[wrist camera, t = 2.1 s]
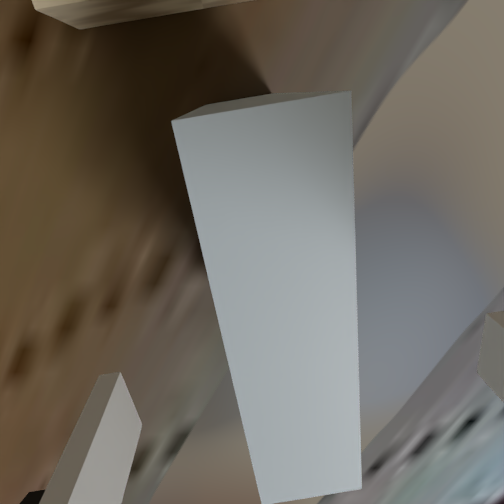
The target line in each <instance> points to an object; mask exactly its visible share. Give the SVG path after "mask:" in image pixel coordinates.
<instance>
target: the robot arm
mask: <svg viewBox="0 0 504 504" xmlns="http://www.w3.org/2000/svg"><path fill="white" fill-rule="evenodd" d="M477 373H478V374H479V375H480V377H481V378H482V379H483V380H484V381H485V382H486V383H487V384H488V386H489V387H490V388H491V389H492V390H493V391H494V392H495V393H496V395H497V396H498V397H499V398H500V399H501V400H502V401H503V402H504V311H500V312H494V313H487V314H486V319H485V325H484V331H483V337H482V343H481V349H480V355H479V361H478V368H477ZM141 428H142V423H141V420H140V418H139V416H138V413H137V411H136V408H135V406H134V404H133V401H132V399H131V396H130V394H129V391H128V389H127V387H126V384H125V382H124V379H123V377H122V375H121V372H116V373H110V374H104V375H99V377H98V379H97V381H96V383H95V385H94V388H93V390H92V392H91V394H90V396H89V398H88V400H87V402H86V405H85V407H84V409H83V411H82V413H81V415H80V417H79V420H78V422H77V424H76V426H75V428H74V430H73V432H72V434H71V437H70V439H69V441H68V443H67V445H66V447H65V449H64V452H63V454H62V456H61V458H60V460H59V462H58V464H57V466H56V469H55V471H54V473H53V475H52V477H51V479H50V481H49V483H48V486H47V488H46V490H40V491H34V492H29V493H28V494H27V495H26V497H25V498H24V499H23V500H22V501H21V503H20V504H121V502H122V499H123V495H124V491H125V488H126V484H127V480H128V476H129V473H130V469H131V465H132V461H133V458H134V454H135V450H136V447H137V443H138V439H139V435H140V432H141Z"/></svg>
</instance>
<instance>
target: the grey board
mask: <svg viewBox="0 0 504 504" xmlns="http://www.w3.org/2000/svg"><path fill="white" fill-rule="evenodd" d="M171 123H172V127H173V131H174V135H175V139H176V144H177V148H178V152H179V156H180V161H181V165H182V169H183V173H184V178H185V182H186V186H187V190H188V194H189V199H190V203H191V207H192V211H193V216H194V220H195V224H196V228H197V233H198V237H199V241H200V245H201V249H202V254H203V258H204V262H205V266H206V271H207V275H208V279H209V283H210V288H211V292H212V296H213V300H214V304H215V309H216V313H217V317H218V321H219V326H220V330H221V334H222V338H223V343H224V347H225V351H226V355H227V359H228V364H229V368H230V372H231V376H232V380H233V385H234V389H235V393H236V397H237V401H238V406H239V410H240V414H241V419H242V423H243V427H244V431H245V435H246V440H247V444H248V448H249V453H250V456H251V461H252V465H253V469H254V473H255V478H256V482H257V486H258V490H259V495H260V499H261V503H262V504H274V503H280V502H286V501H291V500H298V499H303V498H310V497H316V496H322V495H328V494H334V493H340V492H346V491H352V490H358V489H362V474H361V438H360V404H359V403H360V402H359V401H360V399H359V363H358V327H357V326H358V325H357V291H356V290H357V288H356V250H355V215H354V214H355V213H354V177H353V138H352V100H351V91H326V92H298V93H272V94H266V95H260V96H254V97H248V98H242V99H236V100H230V101H224V102H218V103H212V104H206V105H204V106H202V107H200V108H198V109H195V110H193V111H191V112H189V113H187V114H185V115H183V116H180V117H178V118H176V119H174V120H172V121H171Z"/></svg>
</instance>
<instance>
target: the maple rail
mask: <svg viewBox="0 0 504 504" xmlns="http://www.w3.org/2000/svg"><path fill="white" fill-rule="evenodd" d="M246 1H252V0H32V2H33V5H34V8H35V10H37V11H39V12H42V13H44V14H46V15H48V16H51V17H53V18H55V19H57V20H60V21H62V22H64V23H66V24H69V25H71V26H73V27H75V28H77V29H86V28H92V27H98V26H104V25H110V24H116V23H122V22H127V21H133V20H139V19H145V18H151V17H157V16H163V15H169V14H175V13H181V12H187V11H193V10H199V9H205V8H210V7H216V6H222V5H228V4H234V3H240V2H246Z"/></svg>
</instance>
